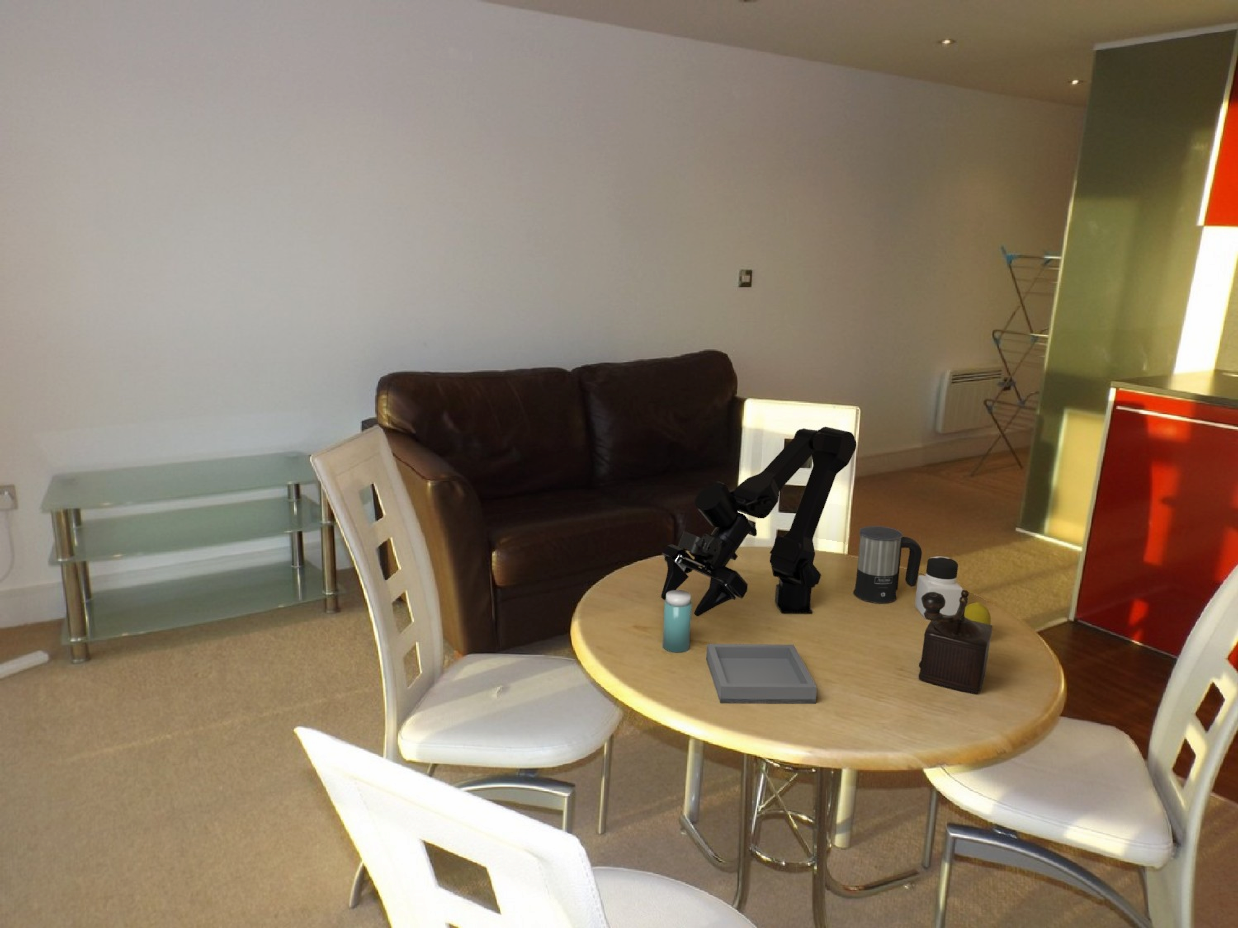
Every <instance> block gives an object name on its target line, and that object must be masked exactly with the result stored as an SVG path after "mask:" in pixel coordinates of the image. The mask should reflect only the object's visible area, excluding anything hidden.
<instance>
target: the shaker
mask: <svg viewBox="0 0 1238 928" xmlns="http://www.w3.org/2000/svg"><path fill="white" fill-rule="evenodd" d="M692 602H693V601H692V594H691V593H690V592H689V591H686V590H682V589H680V590H679V589H676V590H672V591H669V592H667V593H666V600H664V611H663V631H662V632H663V633H662V648H663V650H664V651H665V652H666V651H667V652H669V653H673V654H675V653H676V654H678V653H679V654H682V653H686V652H688V651H689V650H690V642H691V641H690V639H691V621H692V604H693V603H692Z"/></svg>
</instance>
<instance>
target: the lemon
mask: <svg viewBox="0 0 1238 928" xmlns="http://www.w3.org/2000/svg"><path fill="white" fill-rule="evenodd" d="M964 616H965V618H968V619H969V620H971V621H976V622H980V623H984V624H988V625H992V624H991V622H992V621H991V620H992V618H991V613H990V611H989V609H988V608H987V607H986V606H985V605H984V604H982V603H981V602H980V601H976V602H972V603H968V604H967V605H966V607H965V613H964Z"/></svg>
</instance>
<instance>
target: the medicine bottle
mask: <svg viewBox="0 0 1238 928" xmlns="http://www.w3.org/2000/svg"><path fill="white" fill-rule="evenodd" d="M925 569H926V572H925V575H924V574H920V575H919V574H918V578H917V583H916V593H915V599H914V606H915V608H916V609H917V610H918V612H919V613H920V614H921V616H922V617H923V619H925V620H927V619H926V618H925V616H924V612H925V611H926V609H925V608H924V607H923V604H922V600H921V598H922V596H923V595H924V594H926V593H928V592H936V593H939V594H942V595H943V597H944V599H945V601H946V602H945V607H943V608H942V609H941V610H940V613H942V614H944V615H948V616H949V615H955V614H956V613H957V610H958V608H959V605H960V602H959V599H960V597H962V596H961V592H962V591H963V590H964V589H963V587H962V586H961V585H960V584H959V582H957V578H958V569H959V563H958V562H957V561H956V560H954V559H952V558H951V557H947V556H933V557H932V556H931V557H929V558H928V559H927V562H926V568H925Z"/></svg>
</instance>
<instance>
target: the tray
mask: <svg viewBox="0 0 1238 928" xmlns="http://www.w3.org/2000/svg"><path fill="white" fill-rule="evenodd" d="M705 659H706V663H707V666H708V668H709V674H710V676H711V678H712V681H713V682H712V683H713V684H714V688H715V691H716V694H717V697H718V701H719V703H720V704H801V705H803V704H811V705H812V704H813V705H814V704H816V703H817V692H818V686H817V685H816V682H815V681H814V679H813V677H812V675H811V674H810V672H809V670H808V668H807V666H806V664H805V662H804V661H803V659H802V657H801V655H800V653H799V651H798V649H797V648H796V645H794V644H766V643H765V644H764V643H763V644H758V643H757V644H755V643H754V644H751V643H750V644H747V643H746V644H744V643H742V644H741V643H739V644H737V643H733V644H732V643H707V644H706V657H705Z"/></svg>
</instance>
